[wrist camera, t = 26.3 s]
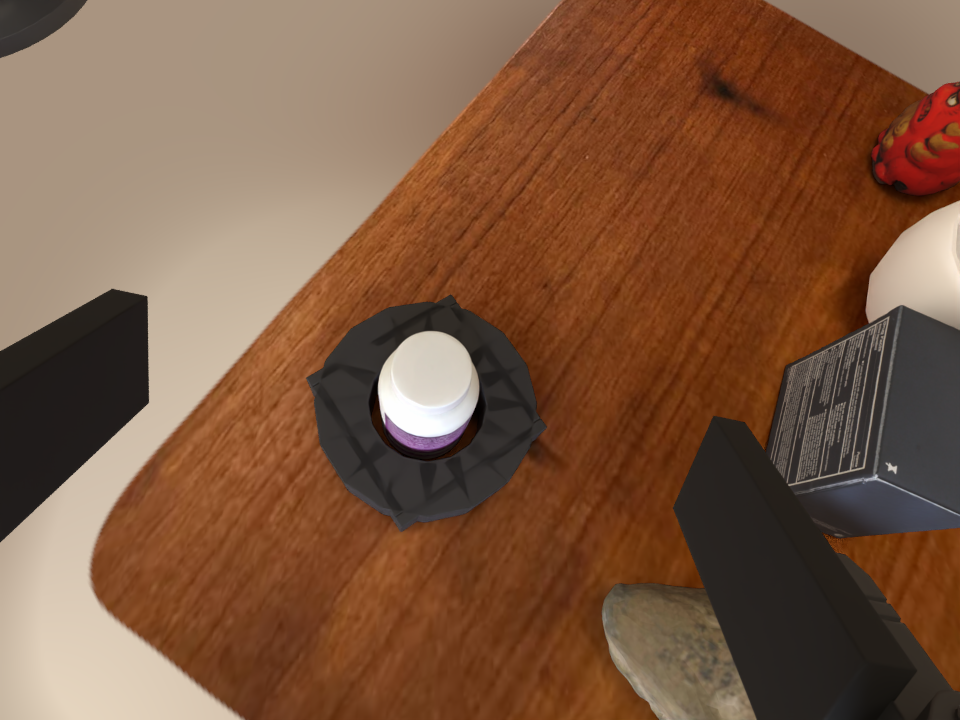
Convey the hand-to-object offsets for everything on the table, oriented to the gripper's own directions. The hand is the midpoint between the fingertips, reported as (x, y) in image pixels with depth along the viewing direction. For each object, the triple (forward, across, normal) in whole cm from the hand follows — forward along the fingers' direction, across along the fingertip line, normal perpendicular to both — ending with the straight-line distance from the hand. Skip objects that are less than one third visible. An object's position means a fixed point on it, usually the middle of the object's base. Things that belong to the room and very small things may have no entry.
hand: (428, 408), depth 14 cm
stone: (+13, +19, -21) cm, 31 cm away
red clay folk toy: (+41, +34, +7) cm, 54 cm away
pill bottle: (+21, 0, -13) cm, 25 cm away
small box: (+23, +26, -11) cm, 36 cm away
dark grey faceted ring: (+21, 0, -13) cm, 25 cm away
